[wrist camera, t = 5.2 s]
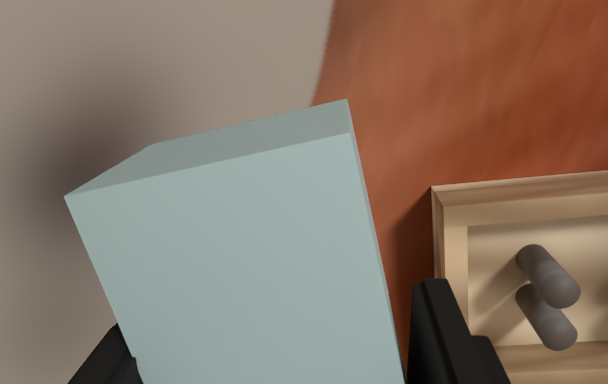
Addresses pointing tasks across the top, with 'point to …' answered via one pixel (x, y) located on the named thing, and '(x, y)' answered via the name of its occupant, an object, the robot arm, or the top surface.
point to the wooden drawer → (530, 271)
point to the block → (245, 255)
